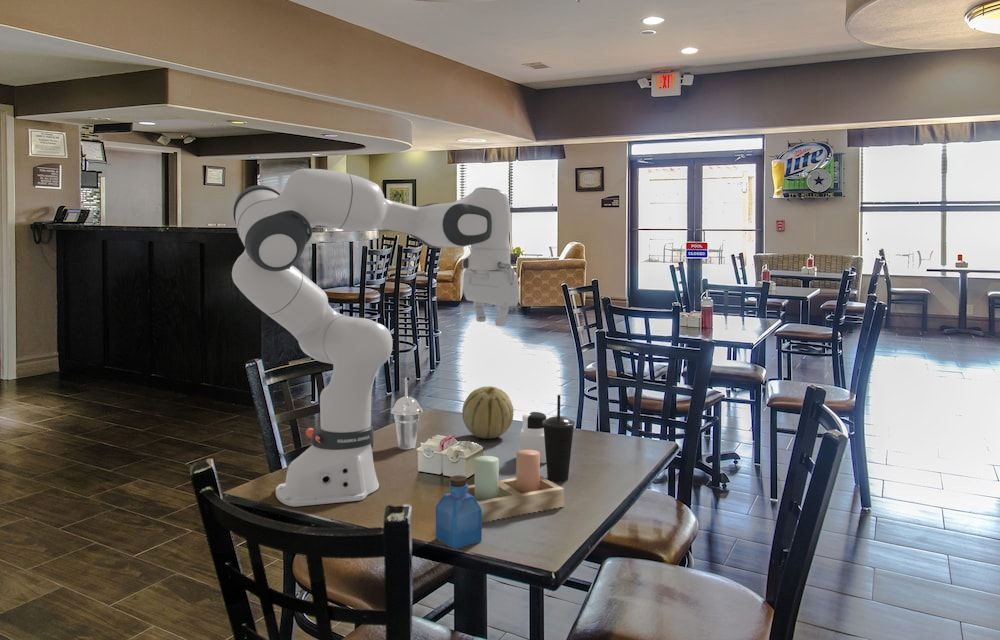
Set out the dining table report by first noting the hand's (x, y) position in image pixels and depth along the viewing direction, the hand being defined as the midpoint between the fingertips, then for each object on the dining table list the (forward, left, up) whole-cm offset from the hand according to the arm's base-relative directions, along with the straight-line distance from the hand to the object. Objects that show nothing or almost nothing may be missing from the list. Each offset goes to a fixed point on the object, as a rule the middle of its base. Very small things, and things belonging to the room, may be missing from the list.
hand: (490, 323), depth 170 cm
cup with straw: (-6, +37, -37) cm, 53 cm away
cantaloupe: (+18, +36, -37) cm, 55 cm away
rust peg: (+1, -15, -37) cm, 40 cm away
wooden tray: (-4, -15, -37) cm, 40 cm away
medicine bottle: (+19, +12, -37) cm, 44 cm away
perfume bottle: (-20, -26, -37) cm, 50 cm away
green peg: (-9, -15, -37) cm, 41 cm away
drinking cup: (+16, -4, -37) cm, 41 cm away
